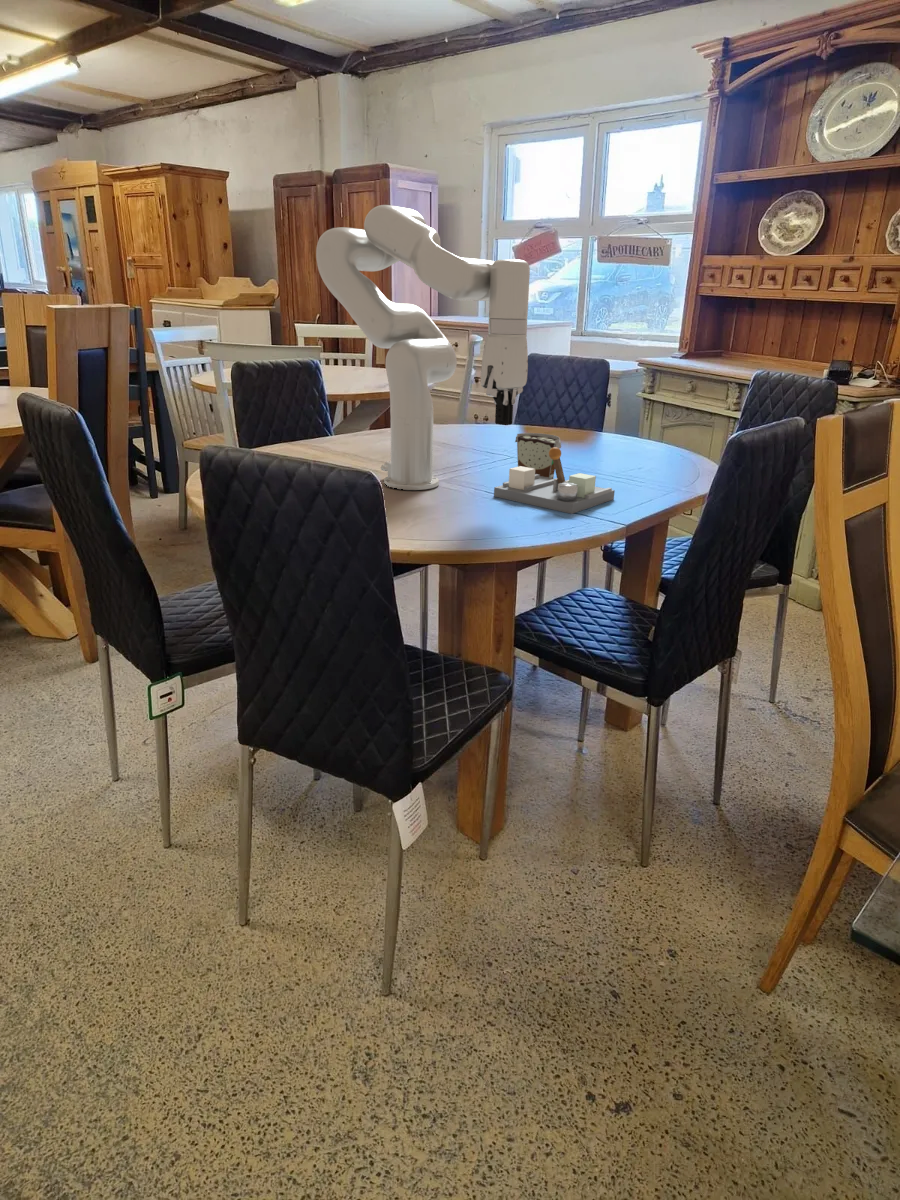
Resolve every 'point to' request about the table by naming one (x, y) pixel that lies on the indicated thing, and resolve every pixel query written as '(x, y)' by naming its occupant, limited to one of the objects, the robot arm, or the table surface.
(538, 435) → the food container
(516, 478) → the block
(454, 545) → the table surface
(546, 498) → the panel
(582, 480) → the slider green
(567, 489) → the button
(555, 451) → the lever
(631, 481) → the table surface
